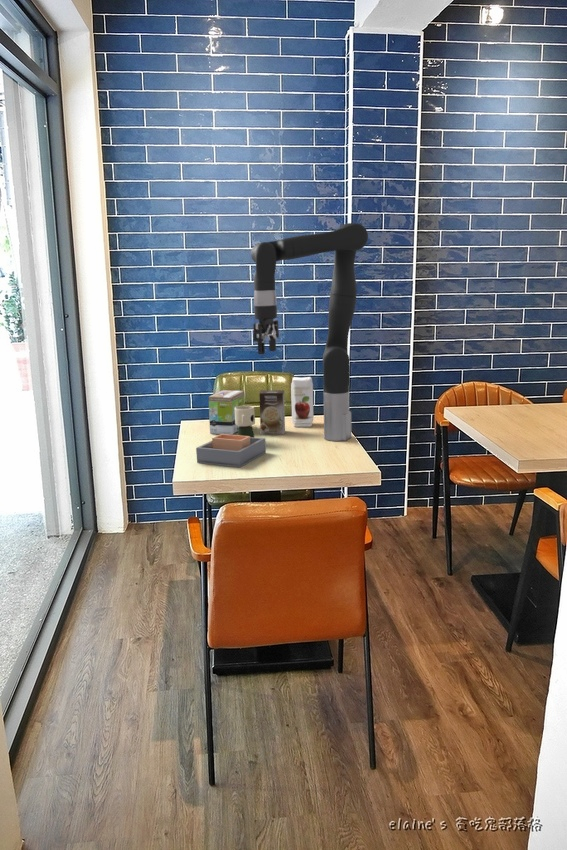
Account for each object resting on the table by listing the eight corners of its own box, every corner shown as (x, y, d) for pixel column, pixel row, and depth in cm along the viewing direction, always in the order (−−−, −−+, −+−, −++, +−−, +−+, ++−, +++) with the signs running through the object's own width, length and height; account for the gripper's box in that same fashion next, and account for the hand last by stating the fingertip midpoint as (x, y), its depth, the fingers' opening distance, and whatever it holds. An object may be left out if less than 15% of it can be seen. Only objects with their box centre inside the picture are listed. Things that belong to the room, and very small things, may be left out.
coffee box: (259, 435, 246) (258, 393, 243) (262, 431, 252) (260, 390, 249) (284, 434, 245) (282, 392, 242) (285, 430, 252) (284, 389, 248)
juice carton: (292, 423, 264) (291, 376, 259) (314, 422, 263) (312, 376, 259) (291, 427, 256) (290, 379, 252) (313, 427, 256) (312, 379, 251)
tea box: (234, 435, 248) (232, 396, 244) (209, 434, 250) (207, 396, 247) (246, 426, 262) (244, 389, 258) (223, 425, 264) (220, 389, 261)
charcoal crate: (265, 452, 222) (265, 438, 221) (240, 467, 206) (239, 452, 205) (224, 448, 229) (224, 434, 227) (197, 462, 213) (196, 447, 212)
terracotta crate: (250, 453, 218) (250, 436, 216) (242, 458, 212) (241, 440, 211) (222, 450, 222) (221, 433, 221) (213, 455, 217) (212, 438, 215)
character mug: (254, 446, 231) (253, 410, 228) (234, 446, 231) (232, 410, 228) (256, 438, 241) (255, 404, 238) (237, 439, 242) (235, 404, 239)
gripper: (265, 305, 211) (267, 355, 214) (284, 302, 223) (286, 350, 227) (245, 305, 214) (247, 355, 217) (264, 303, 226) (266, 349, 230)
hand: (267, 352), depth 222 cm, fingers open, 8 cm apart
